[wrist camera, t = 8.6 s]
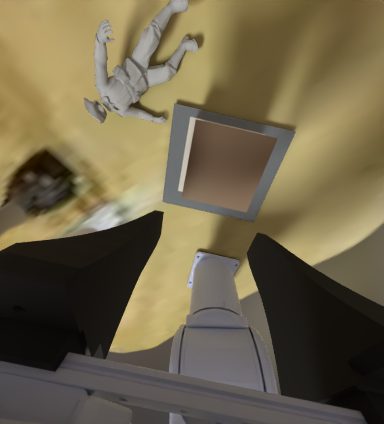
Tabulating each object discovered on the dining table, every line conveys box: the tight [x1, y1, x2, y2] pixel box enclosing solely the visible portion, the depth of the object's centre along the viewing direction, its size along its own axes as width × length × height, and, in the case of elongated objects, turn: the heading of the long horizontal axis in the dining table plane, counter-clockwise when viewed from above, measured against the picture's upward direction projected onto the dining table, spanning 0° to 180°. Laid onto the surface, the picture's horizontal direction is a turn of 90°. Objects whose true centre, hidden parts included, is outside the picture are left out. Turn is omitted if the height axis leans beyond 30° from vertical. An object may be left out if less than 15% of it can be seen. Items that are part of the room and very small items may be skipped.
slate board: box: [163, 103, 296, 222], centre depth 18 cm, size 12×14×1 cm
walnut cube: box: [182, 119, 278, 212], centre depth 11 cm, size 5×5×5 cm
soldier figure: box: [84, 0, 198, 124], centre depth 13 cm, size 8×5×12 cm
